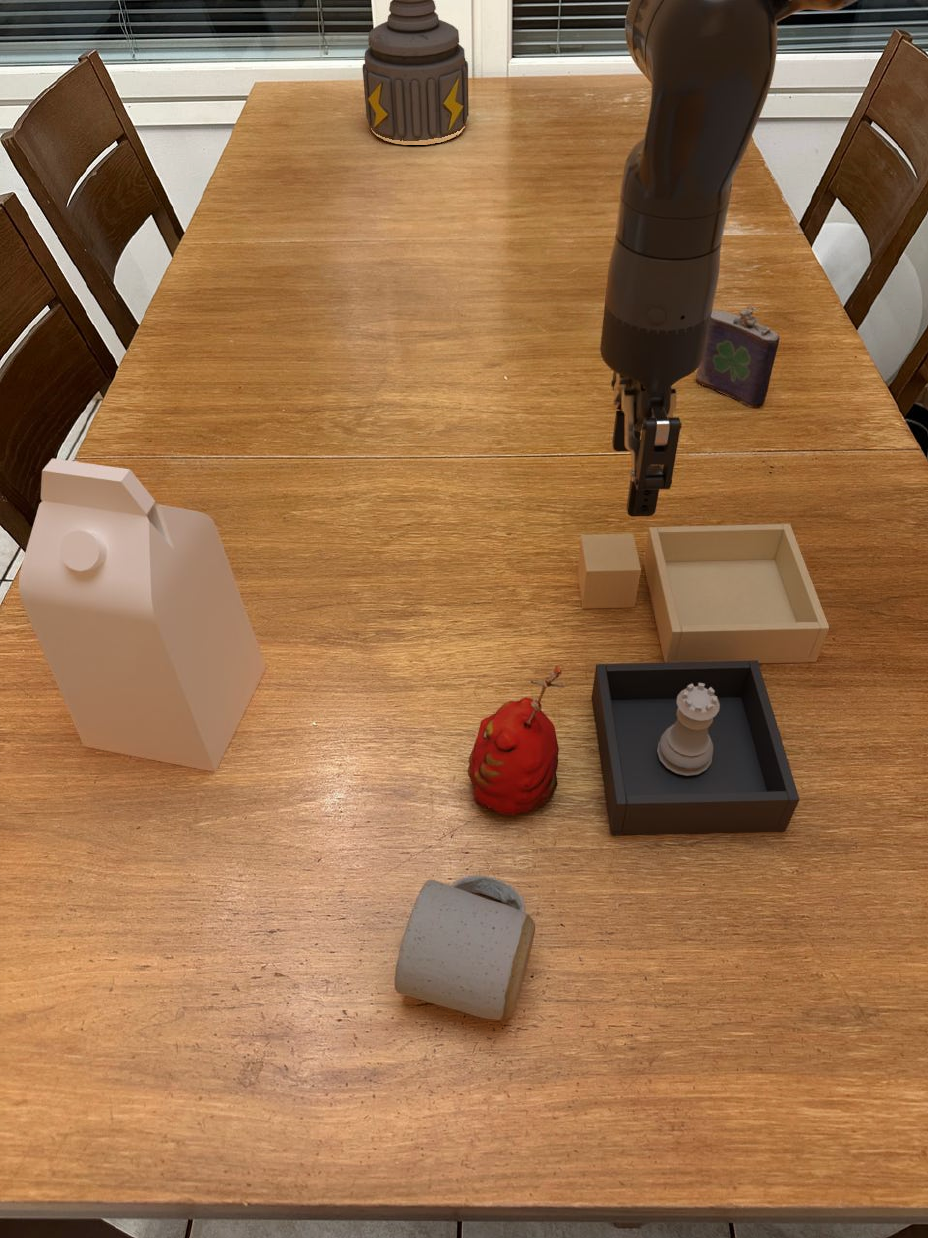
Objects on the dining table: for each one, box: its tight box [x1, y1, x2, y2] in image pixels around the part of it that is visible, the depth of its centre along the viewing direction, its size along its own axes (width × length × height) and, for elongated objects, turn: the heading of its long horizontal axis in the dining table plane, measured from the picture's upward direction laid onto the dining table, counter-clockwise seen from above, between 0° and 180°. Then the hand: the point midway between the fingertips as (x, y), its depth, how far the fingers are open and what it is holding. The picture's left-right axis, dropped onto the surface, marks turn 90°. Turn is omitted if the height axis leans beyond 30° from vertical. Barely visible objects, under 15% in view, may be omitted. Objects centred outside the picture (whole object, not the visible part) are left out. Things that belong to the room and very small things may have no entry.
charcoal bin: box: [591, 660, 800, 836], centre depth 76 cm, size 14×14×5 cm
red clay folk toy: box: [467, 665, 565, 816], centre depth 71 cm, size 8×7×15 cm
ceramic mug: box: [394, 874, 536, 1021], centre depth 64 cm, size 11×8×8 cm
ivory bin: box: [642, 523, 830, 664], centre depth 88 cm, size 14×14×5 cm
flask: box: [695, 305, 780, 409], centre depth 110 cm, size 9×3×11 cm, turn 46°
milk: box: [17, 457, 267, 773], centre depth 73 cm, size 12×12×26 cm
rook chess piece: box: [657, 683, 720, 776], centre depth 75 cm, size 4×4×8 cm
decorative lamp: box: [361, 0, 470, 141], centre depth 162 cm, size 19×19×30 cm
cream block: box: [576, 533, 642, 610], centre depth 90 cm, size 5×5×5 cm
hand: (632, 479), depth 78 cm, fingers open, 8 cm apart
